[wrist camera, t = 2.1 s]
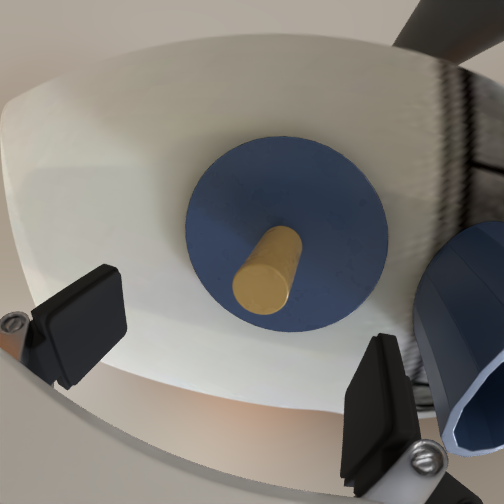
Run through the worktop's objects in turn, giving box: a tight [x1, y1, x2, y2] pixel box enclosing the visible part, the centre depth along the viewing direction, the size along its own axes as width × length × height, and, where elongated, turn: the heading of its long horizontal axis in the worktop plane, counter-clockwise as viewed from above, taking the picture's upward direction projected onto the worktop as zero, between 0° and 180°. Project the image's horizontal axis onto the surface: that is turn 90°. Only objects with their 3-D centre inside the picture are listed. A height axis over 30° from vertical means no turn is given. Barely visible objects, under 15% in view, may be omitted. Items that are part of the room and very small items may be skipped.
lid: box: [185, 136, 388, 332], centre depth 15 cm, size 12×12×7 cm
